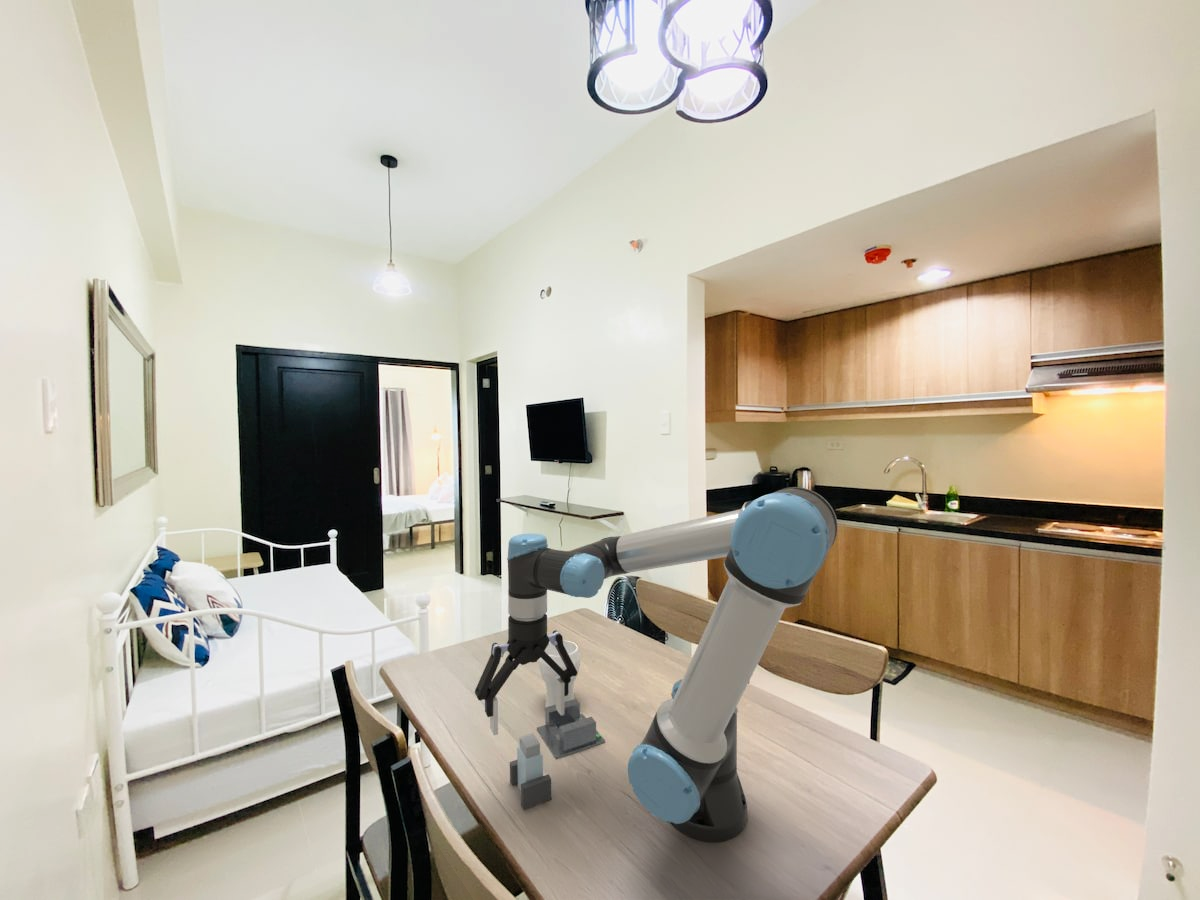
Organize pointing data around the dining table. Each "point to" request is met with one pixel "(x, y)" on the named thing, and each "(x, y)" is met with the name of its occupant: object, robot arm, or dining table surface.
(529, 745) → the plug
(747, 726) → the dining table surface
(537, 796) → the pair of dark bars
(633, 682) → the dining table surface
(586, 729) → the port
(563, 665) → the cup
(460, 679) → the dining table surface
